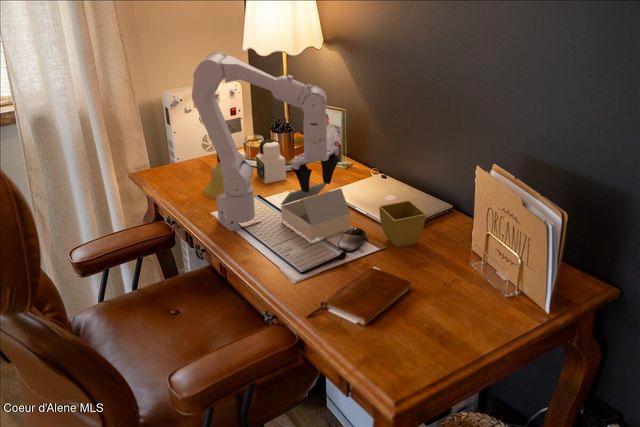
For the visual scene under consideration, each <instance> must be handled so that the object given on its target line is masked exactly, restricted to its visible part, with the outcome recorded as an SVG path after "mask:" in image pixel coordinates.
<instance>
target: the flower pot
mask: <svg viewBox="0 0 640 427" xmlns="http://www.w3.org/2000/svg"><path fill="white" fill-rule="evenodd" d="M378 208H379V209H378V210H379V219H380V225H381V228H382V231H383V234H384V235H385V237H386V238H387V240H388V241H389V242H390V243H391V244H392V245H393V246H394V247H395V248H403V247H407V246H411V245H414V244H416V242H418V240H419V239H420V238H421V236H422V234H423V231H424V228H425V226H424V225H425V222H426V217H427V213H426V212H425V211H423V210H422V209H420V207H418V205H416V204H414V203H413V201H411V200H404V201H399V202H398V201H397V202H393V203H392V202H391V203H388V204H384V205H379V206H378Z"/></svg>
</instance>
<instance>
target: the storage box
mask: <svg viewBox="0 0 640 427" xmlns="http://www.w3.org/2000/svg"><path fill="white" fill-rule="evenodd" d="M317 195H318V194H317ZM317 195H314V196H317ZM314 196H310V197H307V198H311V197H314ZM307 198H304V199H307ZM304 199H301V200H297V201H294V202H291V203H287V204H284V205H281V206H280V214H281V220H282V219H283V220H284V221H286V222H287V223H288V224H290V225H291V226H293V227H294V228H295V229H296V230H298V231H299V232H301V233H302V234H304V235H305V236H306V237H308V239H310V240H311V241H312V240H314V239H316V238H317V237H324V238H327V239H329V238H328V237H330V238H332V237H331V236H333V237H335V236H334V235H336V236H338V235H337V234H339V235H341V234H343V233H342V232H344V231H346V230H348V229H349V230H350V214H351V212H350V213H349V214H346V215H343V216H340V217H337V218H335V219H332V220H329V221H326V222H323V223H320V224H317V225H314V226H311V223H310V220H309V217H308V215H307V212H306V209H305V206H304V203H303V201H302V200H304ZM340 233H341V234H340ZM344 233H345V232H344Z"/></svg>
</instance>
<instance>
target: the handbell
mask: <svg viewBox="0 0 640 427" xmlns="http://www.w3.org/2000/svg"><path fill="white" fill-rule="evenodd" d="M216 160H217V162H216V164H214V165H213V166H212V167H211V169H210V178H211V179H210V181H209V182H208V183H207V184H206V185H205V186H204V187H203V191H202V193H203V194H204V196H207V197H208V198H212V199H217V197H218V196H219V195H221V194H223V193H224V192H225V189H224V187H223V176H222V174H221V163H220V159H219V157H218V155H217V154H216Z"/></svg>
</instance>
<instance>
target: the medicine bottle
mask: <svg viewBox="0 0 640 427" xmlns="http://www.w3.org/2000/svg"><path fill="white" fill-rule="evenodd" d="M259 151H260V152H259V154H256V155H255V163H256V173H257V174H256V176H257V177H258V178H259V179H260V180H261V181H262V182H263V184H265V185H266V184H272V183H276V182H282V181H286V180H287V172H286V171H287V168H286V167H287V166H286V158H285V157H284V156H283V155H281V146H280V141H278V140H275V139H265V140H262V141H260V143H259Z"/></svg>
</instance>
